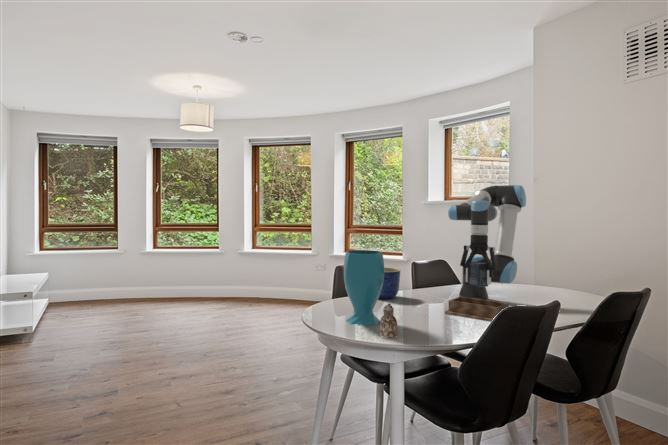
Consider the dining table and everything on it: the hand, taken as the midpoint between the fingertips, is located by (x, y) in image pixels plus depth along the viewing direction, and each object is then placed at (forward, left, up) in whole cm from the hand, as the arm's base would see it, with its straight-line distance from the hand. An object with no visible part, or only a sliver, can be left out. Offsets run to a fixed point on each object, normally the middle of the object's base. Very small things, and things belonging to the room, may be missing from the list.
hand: (478, 283), depth 206 cm
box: (0, 0, -1) cm, 1 cm away
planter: (-54, +4, -15) cm, 56 cm away
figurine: (-13, -55, -15) cm, 58 cm away
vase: (-33, -44, -15) cm, 57 cm away
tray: (0, 0, -15) cm, 15 cm away
